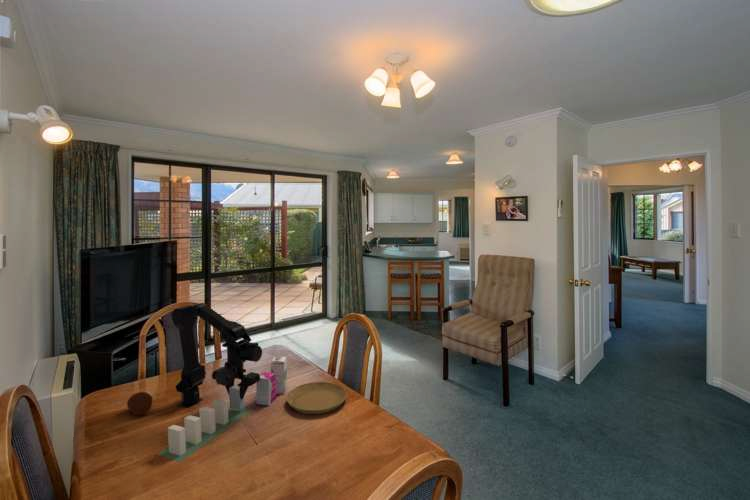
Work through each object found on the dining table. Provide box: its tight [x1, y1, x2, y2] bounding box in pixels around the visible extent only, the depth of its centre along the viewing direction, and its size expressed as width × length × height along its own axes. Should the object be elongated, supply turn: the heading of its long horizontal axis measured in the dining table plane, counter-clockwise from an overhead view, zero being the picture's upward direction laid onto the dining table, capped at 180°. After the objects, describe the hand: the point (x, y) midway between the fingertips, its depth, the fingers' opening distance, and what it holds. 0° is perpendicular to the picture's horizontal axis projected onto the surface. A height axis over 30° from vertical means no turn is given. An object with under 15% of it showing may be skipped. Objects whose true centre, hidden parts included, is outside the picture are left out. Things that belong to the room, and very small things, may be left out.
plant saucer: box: [286, 381, 348, 415], centre depth 142 cm, size 24×24×3 cm
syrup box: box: [270, 356, 288, 395], centre depth 150 cm, size 6×6×14 cm
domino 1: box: [167, 424, 186, 456], centre depth 110 cm, size 5×2×8 cm, turn 69°
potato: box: [126, 391, 154, 416], centre depth 134 cm, size 8×12×8 cm, turn 63°
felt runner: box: [157, 406, 253, 463], centre depth 122 cm, size 10×32×1 cm, turn 159°
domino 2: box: [183, 414, 202, 445], centre depth 115 cm, size 5×2×8 cm, turn 69°
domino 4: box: [212, 398, 229, 425], centre depth 126 cm, size 5×2×8 cm, turn 69°
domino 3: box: [198, 406, 216, 434], centre depth 121 cm, size 5×2×8 cm, turn 69°
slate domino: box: [228, 385, 245, 411], centre depth 134 cm, size 5×2×8 cm, turn 69°
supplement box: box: [255, 371, 277, 407], centre depth 141 cm, size 6×6×12 cm
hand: (236, 397), depth 134 cm, fingers closed on slate domino, 5 cm apart
